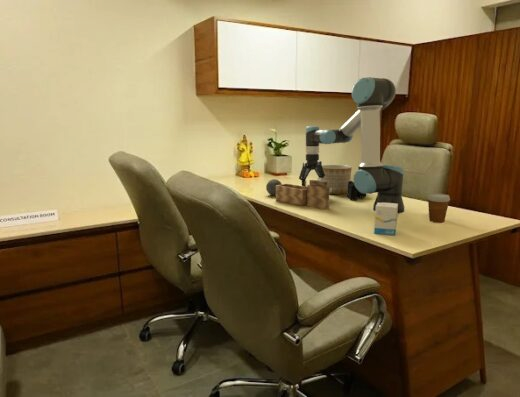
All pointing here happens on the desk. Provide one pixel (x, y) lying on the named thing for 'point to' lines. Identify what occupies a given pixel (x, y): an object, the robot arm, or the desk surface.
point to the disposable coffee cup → (438, 207)
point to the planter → (337, 178)
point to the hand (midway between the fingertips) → (312, 190)
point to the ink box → (385, 218)
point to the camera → (354, 191)
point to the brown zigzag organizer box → (303, 195)
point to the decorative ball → (272, 186)
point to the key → (318, 183)
